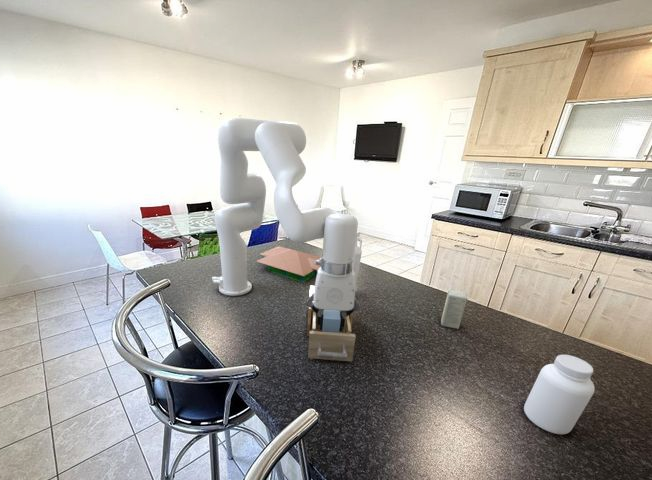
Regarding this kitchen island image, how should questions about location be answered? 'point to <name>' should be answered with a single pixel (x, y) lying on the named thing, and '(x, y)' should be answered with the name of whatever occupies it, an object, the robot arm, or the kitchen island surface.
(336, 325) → the block
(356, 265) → the white spray bottle
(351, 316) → the cabinet
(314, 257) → the house
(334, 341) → the drawer
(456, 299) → the box
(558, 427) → the pill bottle
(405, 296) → the kitchen island surface
